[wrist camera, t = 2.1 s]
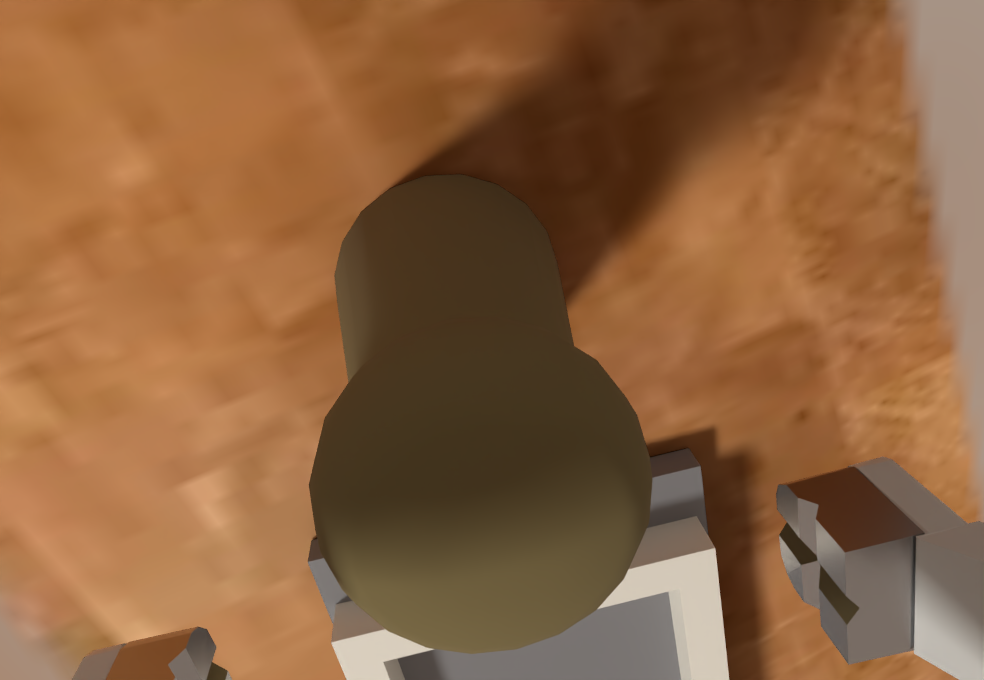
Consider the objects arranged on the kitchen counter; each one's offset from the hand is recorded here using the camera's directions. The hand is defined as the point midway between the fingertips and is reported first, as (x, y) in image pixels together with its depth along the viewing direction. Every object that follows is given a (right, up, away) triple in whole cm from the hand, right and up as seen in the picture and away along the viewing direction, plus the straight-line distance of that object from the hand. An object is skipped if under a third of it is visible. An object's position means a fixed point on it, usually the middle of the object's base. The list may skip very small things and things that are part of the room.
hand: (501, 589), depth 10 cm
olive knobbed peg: (-1, +5, +10) cm, 11 cm away
